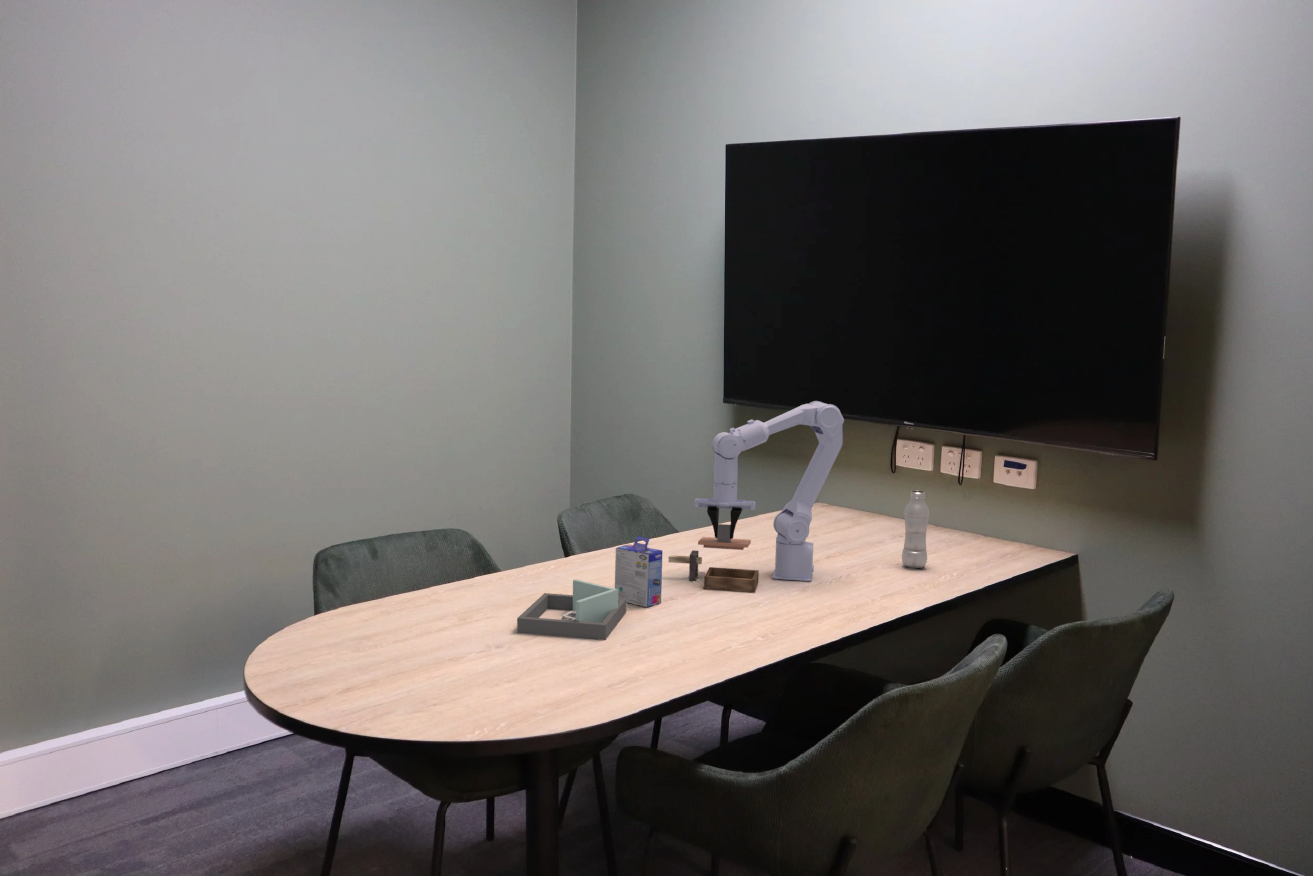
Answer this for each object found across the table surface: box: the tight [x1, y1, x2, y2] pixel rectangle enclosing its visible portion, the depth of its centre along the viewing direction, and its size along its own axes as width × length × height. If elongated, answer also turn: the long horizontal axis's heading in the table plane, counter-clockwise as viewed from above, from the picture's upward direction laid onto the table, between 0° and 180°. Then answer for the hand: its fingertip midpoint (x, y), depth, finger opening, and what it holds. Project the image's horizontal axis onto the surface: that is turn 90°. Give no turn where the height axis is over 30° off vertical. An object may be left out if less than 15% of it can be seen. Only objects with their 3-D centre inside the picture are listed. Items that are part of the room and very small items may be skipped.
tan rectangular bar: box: [667, 554, 703, 565], centre depth 244 cm, size 8×2×1 cm, turn 79°
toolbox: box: [688, 550, 760, 594], centre depth 240 cm, size 16×10×7 cm, turn 79°
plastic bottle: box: [901, 489, 930, 569], centre depth 258 cm, size 6×7×20 cm
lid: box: [697, 523, 752, 551], centre depth 245 cm, size 12×9×6 cm
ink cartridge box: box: [614, 535, 663, 608], centre depth 224 cm, size 10×6×14 cm, turn 53°
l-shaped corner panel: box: [560, 578, 618, 623], centre depth 209 cm, size 12×12×8 cm
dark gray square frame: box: [516, 592, 627, 641], centre depth 209 cm, size 18×18×3 cm
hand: (724, 537), depth 244 cm, fingers closed on lid, 3 cm apart
